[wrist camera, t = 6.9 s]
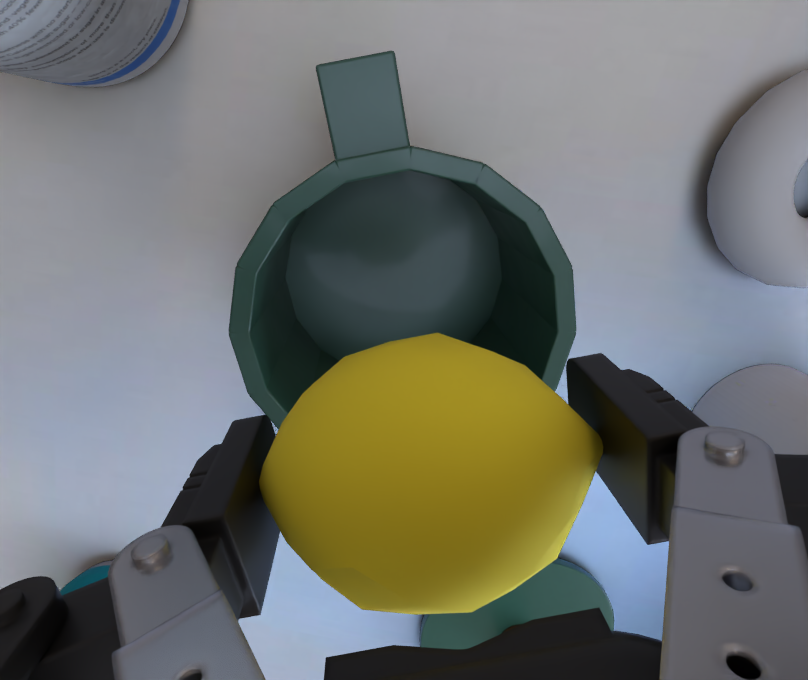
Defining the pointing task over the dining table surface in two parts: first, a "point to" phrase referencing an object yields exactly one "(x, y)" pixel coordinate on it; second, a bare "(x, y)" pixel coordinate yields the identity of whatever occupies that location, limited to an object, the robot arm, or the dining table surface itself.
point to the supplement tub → (86, 38)
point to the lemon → (428, 475)
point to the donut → (764, 188)
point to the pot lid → (519, 607)
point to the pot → (394, 254)
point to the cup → (762, 406)
